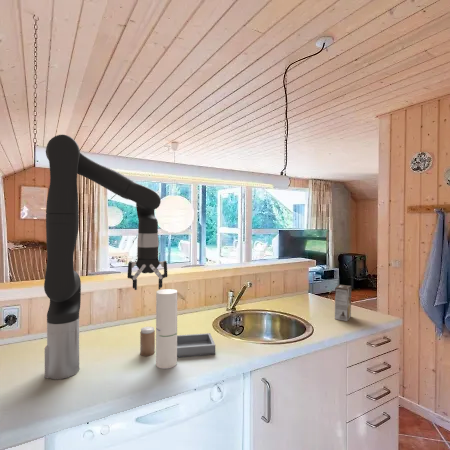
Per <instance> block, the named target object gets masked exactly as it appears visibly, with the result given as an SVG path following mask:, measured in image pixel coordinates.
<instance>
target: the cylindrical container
mask: <svg viewBox="0 0 450 450" xmlns="http://www.w3.org/2000/svg"><path fill="white" fill-rule="evenodd" d="M155 294H156V295H155V296H156V297H155V302H156V303H155V304H156V305H155V366H156V368H159V369H171V368H174V367H176V366H177V364H178V358H177V335H178V290H177V289H172V288H171V289H170V288H165V289H164V288H163V289H162V288H161V289H158V290H156V293H155Z"/></svg>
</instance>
